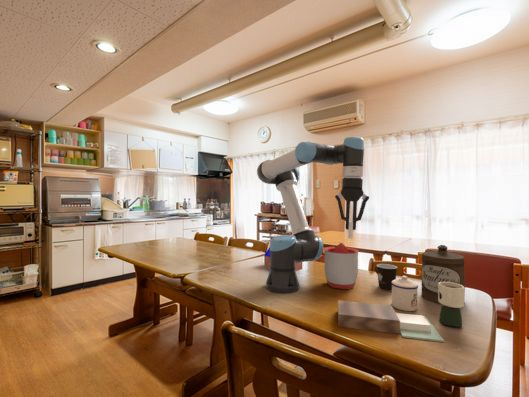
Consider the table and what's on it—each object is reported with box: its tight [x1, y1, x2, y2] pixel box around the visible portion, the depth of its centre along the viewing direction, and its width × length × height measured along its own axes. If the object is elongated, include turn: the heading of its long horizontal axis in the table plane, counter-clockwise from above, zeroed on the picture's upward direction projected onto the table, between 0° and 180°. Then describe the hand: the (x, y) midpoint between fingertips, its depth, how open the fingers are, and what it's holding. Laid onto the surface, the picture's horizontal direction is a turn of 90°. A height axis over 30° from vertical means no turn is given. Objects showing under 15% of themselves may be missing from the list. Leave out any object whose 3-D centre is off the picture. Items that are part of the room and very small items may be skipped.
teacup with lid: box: [391, 275, 419, 312], centre depth 105 cm, size 12×9×12 cm
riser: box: [337, 300, 401, 335], centre depth 91 cm, size 18×12×4 cm, turn 76°
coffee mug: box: [374, 263, 398, 292], centre depth 126 cm, size 12×9×10 cm
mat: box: [400, 316, 445, 343], centre depth 88 cm, size 11×16×1 cm
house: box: [263, 246, 303, 272], centre depth 159 cm, size 12×20×12 cm, turn 46°
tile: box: [395, 312, 431, 332], centre depth 88 cm, size 9×7×2 cm
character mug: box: [438, 282, 465, 327], centre depth 90 cm, size 11×7×13 cm, turn 141°
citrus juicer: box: [323, 242, 360, 290], centre depth 129 cm, size 16×17×20 cm
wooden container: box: [421, 244, 466, 305], centre depth 113 cm, size 15×15×22 cm
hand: (350, 237), depth 107 cm, fingers closed
